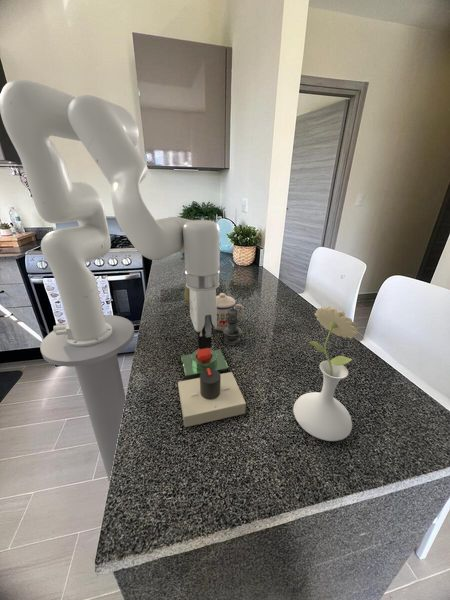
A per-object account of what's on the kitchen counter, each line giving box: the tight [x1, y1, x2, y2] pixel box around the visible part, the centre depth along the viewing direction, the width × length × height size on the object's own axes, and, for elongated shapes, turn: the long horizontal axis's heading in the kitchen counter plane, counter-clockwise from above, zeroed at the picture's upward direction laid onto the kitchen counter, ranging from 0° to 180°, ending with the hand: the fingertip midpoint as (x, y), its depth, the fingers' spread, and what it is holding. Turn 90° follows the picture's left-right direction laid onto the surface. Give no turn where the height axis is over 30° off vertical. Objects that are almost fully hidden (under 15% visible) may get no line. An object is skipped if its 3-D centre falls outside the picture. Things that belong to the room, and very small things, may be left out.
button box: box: [180, 348, 230, 381], centre depth 66 cm, size 11×8×4 cm
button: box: [197, 348, 212, 361], centre depth 65 cm, size 4×4×2 cm
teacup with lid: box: [211, 292, 245, 331], centre depth 85 cm, size 12×9×12 cm
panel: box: [177, 371, 247, 428], centre depth 56 cm, size 13×10×3 cm
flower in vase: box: [293, 305, 359, 442], centre depth 48 cm, size 13×11×25 cm
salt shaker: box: [222, 306, 243, 346], centre depth 76 cm, size 6×6×12 cm
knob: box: [200, 368, 221, 400], centre depth 54 cm, size 4×4×5 cm
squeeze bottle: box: [183, 277, 190, 308], centre depth 96 cm, size 8×8×18 cm
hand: (204, 346), depth 63 cm, fingers closed
